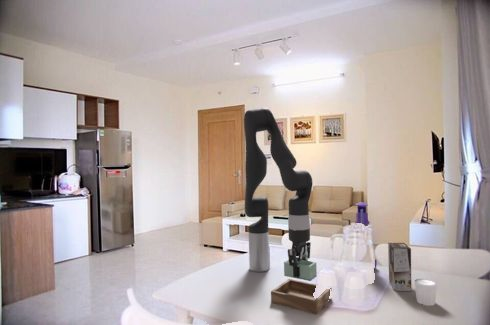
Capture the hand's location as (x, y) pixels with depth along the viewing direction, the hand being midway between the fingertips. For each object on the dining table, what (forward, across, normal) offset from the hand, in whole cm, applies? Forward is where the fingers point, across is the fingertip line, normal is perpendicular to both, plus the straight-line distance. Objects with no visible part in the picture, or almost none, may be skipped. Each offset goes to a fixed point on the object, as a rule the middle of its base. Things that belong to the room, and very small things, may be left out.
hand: (300, 274), depth 118 cm
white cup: (+10, -22, +37) cm, 44 cm away
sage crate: (+1, 0, 0) cm, 1 cm away
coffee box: (+10, -32, +27) cm, 43 cm away
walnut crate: (+10, 0, 0) cm, 10 cm away
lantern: (+9, -47, +9) cm, 48 cm away
